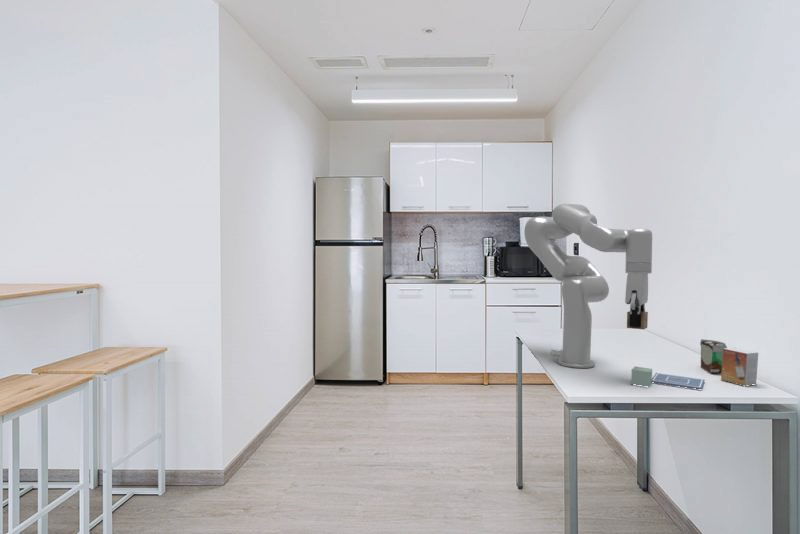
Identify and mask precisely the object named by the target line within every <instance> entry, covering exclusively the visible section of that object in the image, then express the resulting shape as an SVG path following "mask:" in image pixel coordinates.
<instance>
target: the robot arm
mask: <svg viewBox="0 0 800 534" xmlns="http://www.w3.org/2000/svg"><path fill="white" fill-rule="evenodd" d="M523 232H524V238H525V239H524V240H525V242H526V244H527V246H528V248H529V249H530V250H531V251H532V252H533V254H534V255H535V256H536V257H537V258H538V259H539V260H540V262H541V263H542V265H543V266H544V267H545V269H546V270H547V271H548V272H549V273H550V275H551V276H552V277H553V279H554V280H556V281H558V282H563V283H562V285H561V297H562V302H563V325H562V327H563V329H562V330H563V331H562V349H560V350H556V349H551V351H550V355H551V356H552V357H558V359H557V363H558V364H559V366H564V367H566V368H567V367H568V368H573V369H574V368H575V369H576V368H577V369H589V368H594V367H595V366H596V365H595V364H596V363H595V361H593V360H591V348H592V341H591V340H592V320H593V319H592V317H593V316H592V310H591V308H590V305H589V303H599V302H602V301H604V300H605V299H607V297H608V295H609V292H610V288H609V285H608V282H607V281H606V279H605V278H604V275H602V274H601V273H600V272H599V270H598V269H597V268H596V267H595V266H594V264H593V263H592V262H591V261H590V260H589V259H587V258H585V257H584V256H579V255H568V254H566V252H564V251H563V249H562V248H561V247H560V246H559V245H558V244H556V242H554V241H552V240H560V239H565V238H566V237H569V236H571V235H572V234H575V235H577V236H579V238H580V240H581V241H582V243H583V244H585V245H586V246H588V247H590V248H593V249H595V250H597V251H598V252H603V253H625V274H627V278H626V285H625V296H624V297H625V299H624V300H625V301H624V303H625V304H626V305H629V306H630V307H629V311H630V327H638V328H640V327H641V315H640V311H642V312H646V305H645V304H646V303H648V299H649V274H652V267H653V264H652V263H653V258H652V257H653V232H652V230H650V229H648V228H643V229H642V228H641V229H640V228H637V229H635V228H634V229H632V228H631V229H620V228H618V229H617V228H606V227H602V226H599V225H598V221H597V216H595V215H594V214H592V213H591V212H590V210H589V208H587V207H586V206H585V205H583V204H574V203H563V204H562V203H561V204H558V205H556V206H555V207H553V210H552V212H551V216H536V217H532V218H530V219H529V220H527V221H526V223H525V225H524V231H523Z"/></svg>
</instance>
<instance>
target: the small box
mask: <svg viewBox="0 0 800 534" xmlns="http://www.w3.org/2000/svg"><path fill="white" fill-rule="evenodd" d="M758 363H759V352H758V351H752V350H747V349H741V348H737V347H727V348H724V349H723V358H722V372H721V376H720V380H721V381H723V380H724V381H723V382H727V381H728V382H727V383H731V382H732V383H731V384H734V383H737V384H741V385H752V384H756V385H757V377H758ZM737 384H736V385H737Z"/></svg>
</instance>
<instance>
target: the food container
mask: <svg viewBox="0 0 800 534" xmlns="http://www.w3.org/2000/svg"><path fill="white" fill-rule="evenodd" d="M724 348H728V347H727V345H726V343H725V342H723V341H719V340H712V339H700V368H701V369H702V370H703V369H704V370H703V371H705V372H706V371H707V372H706V373H708V374H709V375H720V373H721V372H722V358H723V349H724Z"/></svg>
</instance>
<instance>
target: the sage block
mask: <svg viewBox="0 0 800 534" xmlns="http://www.w3.org/2000/svg"><path fill="white" fill-rule="evenodd" d="M652 378H653V368H650V367H648V368H647V367H642V366H634V367H633V368H631V381H630V382H631V383H630V385H631V384H636V385H642V386H648V387H649V386H650V385H651V386H652V384H653V383H652ZM651 386H650V387H651ZM650 387H649V388H650Z"/></svg>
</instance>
